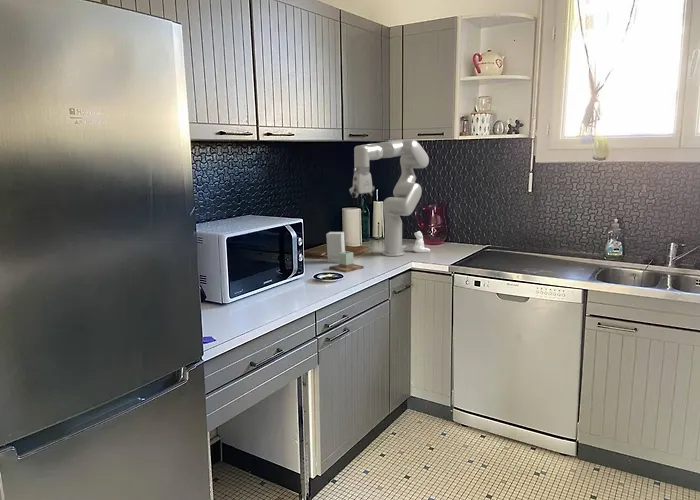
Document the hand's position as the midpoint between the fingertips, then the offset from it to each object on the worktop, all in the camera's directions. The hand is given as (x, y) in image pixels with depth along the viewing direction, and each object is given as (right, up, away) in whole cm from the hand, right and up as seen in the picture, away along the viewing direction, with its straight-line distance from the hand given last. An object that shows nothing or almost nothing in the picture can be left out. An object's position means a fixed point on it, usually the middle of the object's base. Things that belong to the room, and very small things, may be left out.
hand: (362, 204), depth 273 cm
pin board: (-8, -32, -6) cm, 34 cm away
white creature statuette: (+33, -24, +30) cm, 51 cm away
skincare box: (-14, -30, +9) cm, 34 cm away
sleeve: (-8, -31, -6) cm, 33 cm away
